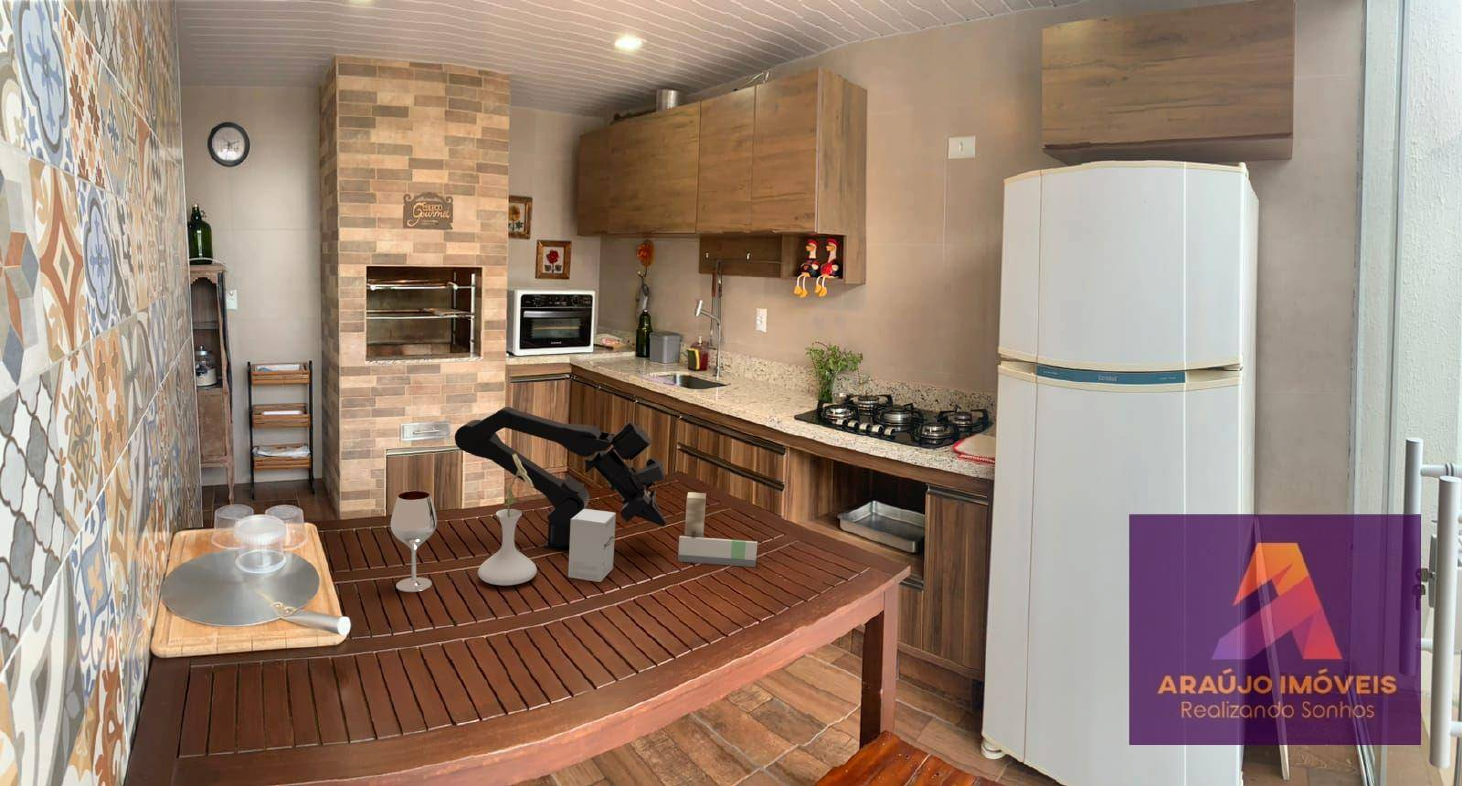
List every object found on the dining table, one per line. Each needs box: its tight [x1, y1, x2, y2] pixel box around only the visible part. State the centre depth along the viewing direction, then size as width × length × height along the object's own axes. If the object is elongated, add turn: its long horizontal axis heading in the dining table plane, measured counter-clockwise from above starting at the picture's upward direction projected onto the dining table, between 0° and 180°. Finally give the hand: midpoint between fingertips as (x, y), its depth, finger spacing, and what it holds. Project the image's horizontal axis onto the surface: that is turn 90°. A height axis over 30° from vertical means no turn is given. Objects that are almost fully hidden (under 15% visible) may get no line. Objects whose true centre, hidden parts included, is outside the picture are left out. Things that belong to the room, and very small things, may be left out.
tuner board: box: [677, 535, 758, 568], centre depth 179 cm, size 17×8×6 cm, turn 90°
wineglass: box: [390, 490, 438, 593], centre depth 153 cm, size 8×8×18 cm
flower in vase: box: [477, 453, 538, 586], centre depth 159 cm, size 13×11×25 cm
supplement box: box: [567, 508, 617, 583], centre depth 165 cm, size 7×7×13 cm
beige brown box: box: [684, 491, 707, 538], centre depth 177 cm, size 5×6×12 cm
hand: (664, 524), depth 179 cm, fingers closed
